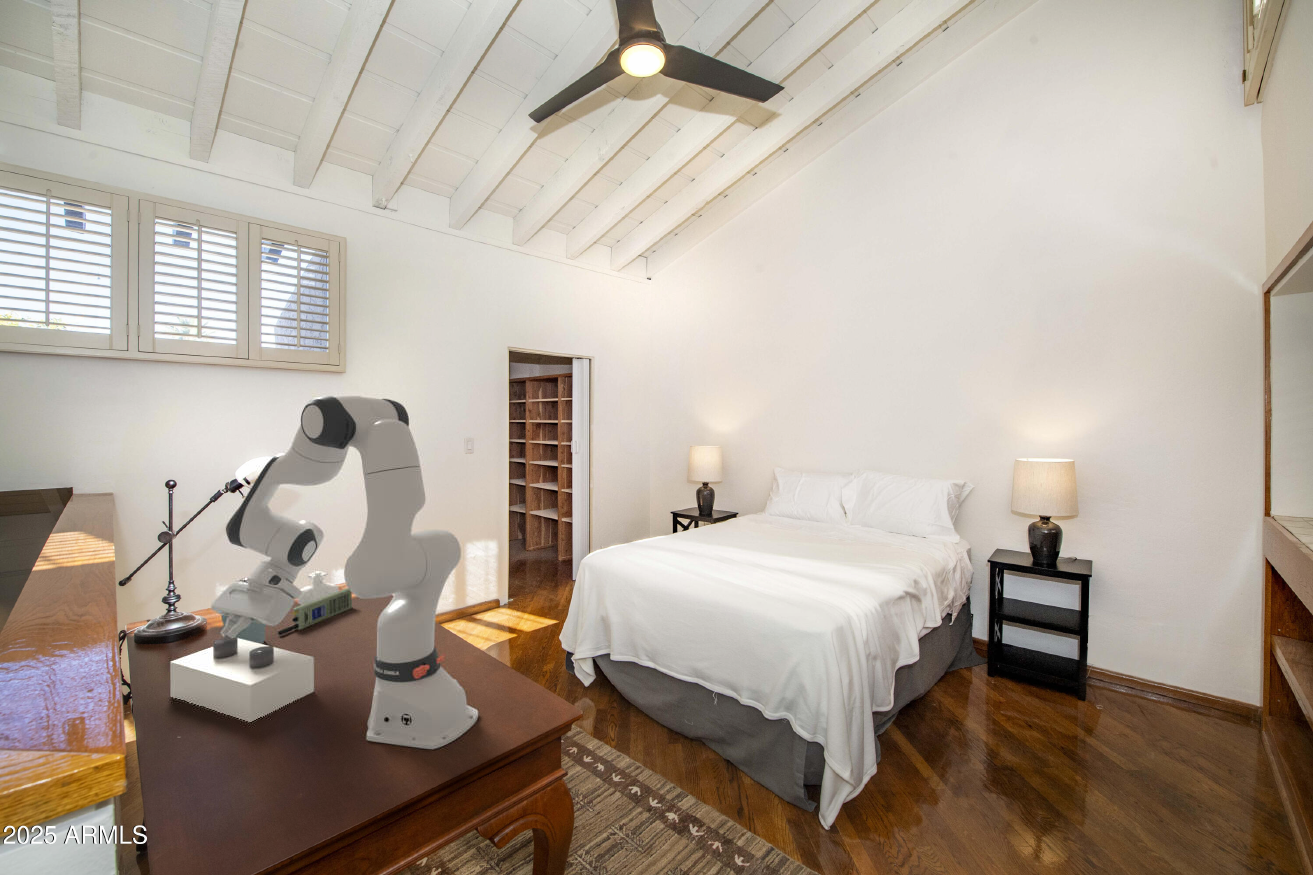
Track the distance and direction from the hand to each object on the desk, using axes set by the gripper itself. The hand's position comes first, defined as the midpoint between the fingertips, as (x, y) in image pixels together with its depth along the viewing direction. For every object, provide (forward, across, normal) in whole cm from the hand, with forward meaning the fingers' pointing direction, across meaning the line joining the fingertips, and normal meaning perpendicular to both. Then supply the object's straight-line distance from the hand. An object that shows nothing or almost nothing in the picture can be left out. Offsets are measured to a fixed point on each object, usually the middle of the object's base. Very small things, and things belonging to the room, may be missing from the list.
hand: (226, 636), depth 125 cm
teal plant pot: (-3, -20, +21) cm, 29 cm away
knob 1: (+5, 0, +5) cm, 7 cm away
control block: (+9, +6, +9) cm, 14 cm away
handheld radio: (-17, -19, +35) cm, 43 cm away
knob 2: (+5, +12, +5) cm, 14 cm away
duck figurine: (-25, -32, +42) cm, 59 cm away
